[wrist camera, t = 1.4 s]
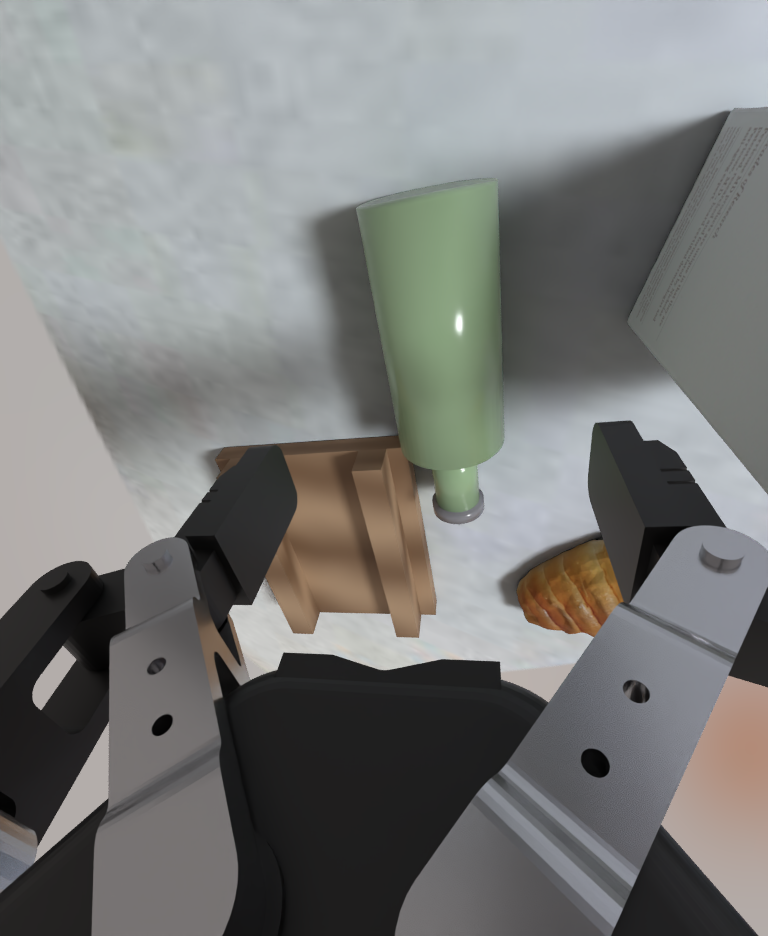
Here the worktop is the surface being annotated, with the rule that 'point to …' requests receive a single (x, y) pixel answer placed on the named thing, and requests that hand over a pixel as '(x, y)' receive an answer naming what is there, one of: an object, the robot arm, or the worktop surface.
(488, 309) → the bottle
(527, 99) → the worktop surface
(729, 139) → the supplement box
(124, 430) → the worktop surface
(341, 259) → the worktop surface
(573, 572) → the pastry
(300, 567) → the cradle
